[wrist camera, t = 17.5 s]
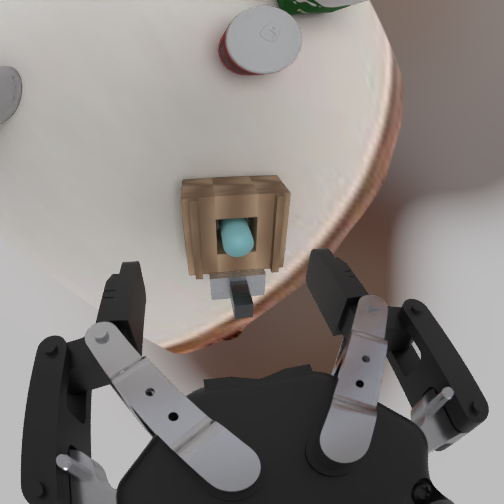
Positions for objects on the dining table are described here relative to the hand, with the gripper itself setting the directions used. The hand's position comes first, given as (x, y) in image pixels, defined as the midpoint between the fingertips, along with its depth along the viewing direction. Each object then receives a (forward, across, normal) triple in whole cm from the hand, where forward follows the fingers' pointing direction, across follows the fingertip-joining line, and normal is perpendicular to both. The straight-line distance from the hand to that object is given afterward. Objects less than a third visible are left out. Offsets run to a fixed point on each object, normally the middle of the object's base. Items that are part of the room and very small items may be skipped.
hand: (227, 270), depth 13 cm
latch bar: (+23, -5, +20) cm, 31 cm away
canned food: (+30, -6, -13) cm, 33 cm away
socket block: (+30, -5, +12) cm, 33 cm away
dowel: (+30, -5, +12) cm, 33 cm away
